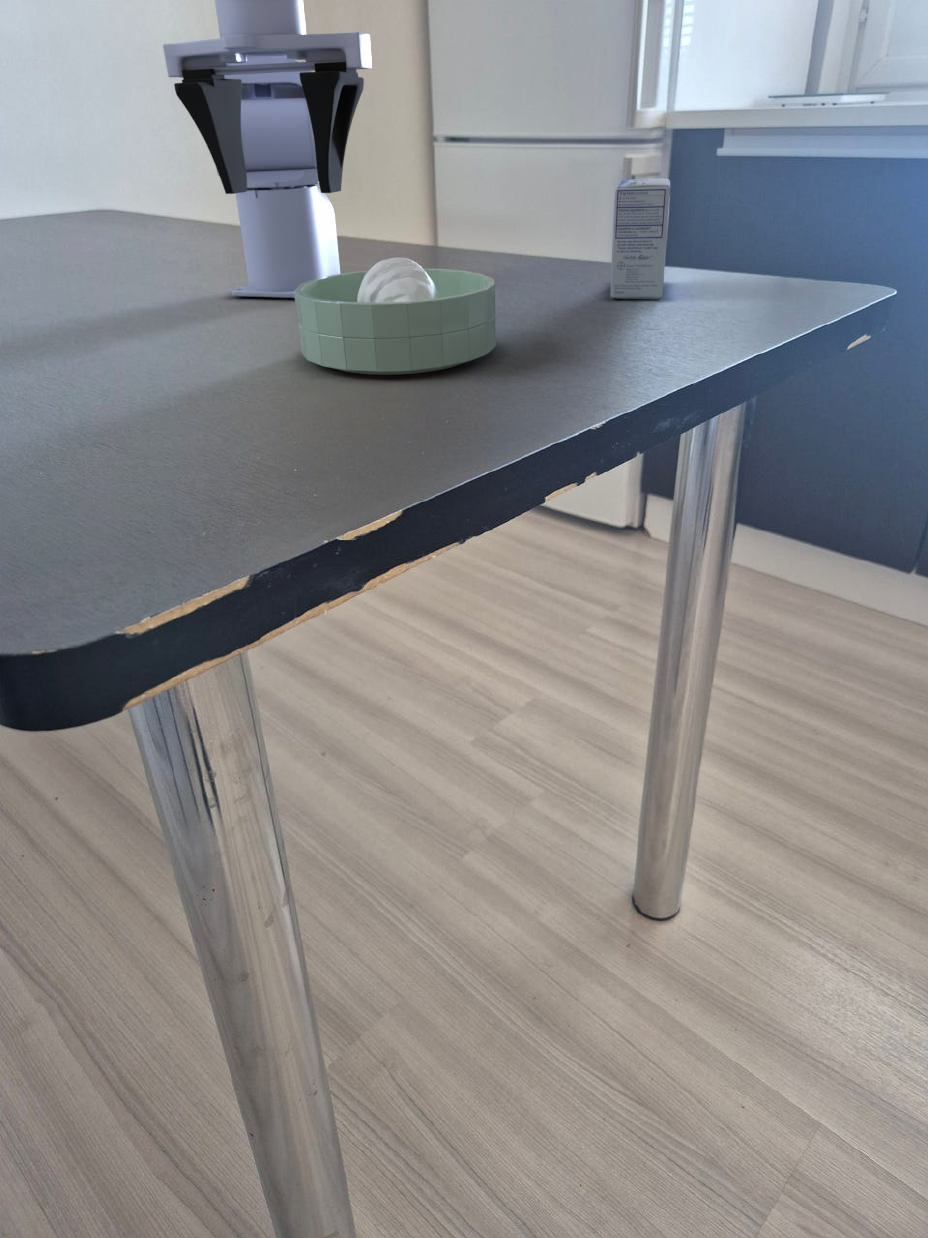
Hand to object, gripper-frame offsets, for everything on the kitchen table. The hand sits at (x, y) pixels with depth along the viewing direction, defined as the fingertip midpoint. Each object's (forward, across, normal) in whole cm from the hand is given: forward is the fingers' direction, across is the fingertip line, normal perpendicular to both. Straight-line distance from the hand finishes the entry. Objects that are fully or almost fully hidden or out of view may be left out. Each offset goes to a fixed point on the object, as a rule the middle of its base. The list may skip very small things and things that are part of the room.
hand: (283, 192), depth 61 cm
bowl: (+9, +11, -7) cm, 16 cm away
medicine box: (+10, +24, +18) cm, 31 cm away
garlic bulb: (+9, +12, -7) cm, 16 cm away
